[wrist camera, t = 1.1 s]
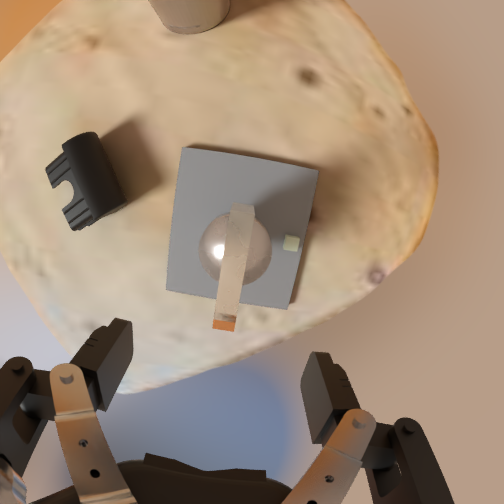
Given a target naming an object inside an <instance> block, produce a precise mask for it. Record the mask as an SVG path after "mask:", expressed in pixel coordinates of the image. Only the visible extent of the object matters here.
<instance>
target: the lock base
mask: <svg viewBox="0 0 504 504" xmlns="http://www.w3.org/2000/svg"><path fill="white" fill-rule="evenodd" d="M318 174H319V171H318V170H314V169H309V168H305V167H300V166H296V165H291V164H286V163H281V162H276V161H271V160H266V159H260V158H255V157H249V156H243V155H237V154H230V153H224V152H217V151H210V150H202V149H194V148H186V147H182V152H181V158H180V164H179V171H178V178H177V185H176V192H175V199H174V207H173V216H172V225H171V234H170V244H169V255H168V267H167V282H166V290H168V291H173V292H178V293H184V294H189V295H195V296H201V297H206V298H212V299H217V292H218V285H219V282H218V281H216V280H214V279H213V278H212V277H210V276H209V275H208V274H207V272H206V271H205V270H204V268H203V266H202V264H201V262H200V259H199V252H198V249H199V242H200V239H201V236H202V234H203V233H204V231H205V229H206V228H207V226H208V225H209V224H210V222H211V221H212V220H214V219H215V218H216V217H218V216H219V215H221V214H223V213H227V212H230V209H231V207H232V204H233V202H235V203H241V204H247V205H253V206H254V212H255V217H256V218H257V219H259V220H260V221H261V222H262V224H263V225H264V226H265V228H266V229H267V232H268V234H269V237H270V241H271V244H272V258H271V262H270V264H269V266H268V268H267V270H266V271H265V273H264V274H263V275H262V276H261V277H260V278H258V279H257V280H255V281H254V282H252V283H249V284H246V285H242V289H241V294H240V300H239V303H243V304H250V305H257V306H264V307H271V308H278V309H286V310H287V309H288V305H289V301H290V297H291V294H292V290H293V286H294V282H295V278H296V274H297V269H298V265H299V261H300V257H301V253H302V248H303V244H304V240H305V235H306V231H307V227H308V222H309V217H310V213H311V208H312V204H313V199H314V194H315V189H316V184H317V179H318Z"/></svg>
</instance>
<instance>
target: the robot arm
mask: <svg viewBox="0 0 504 504" xmlns="http://www.w3.org/2000/svg"><path fill="white" fill-rule="evenodd" d="M148 1H149V2H150V4H151V5H152V7H153V8H154V10H155V12H156V13H157V15H158V16H159V18H160V19H161V21H162V22H163V24H164V25H165V26H166V27H167V28H168V29H169V30H171V31H173V32H176V33H180V34H195V33H200V32H203V31H206V30H209V29H211V28H213V27H215V26H216V25H217V24H219V23H220V22H221V21H222V20H223V19H224V18H225V17H226V15H227V14H228V12H229V8H230V0H148ZM132 356H133V331H132V322H131V321H127V320H123V319H119V318H114V320H113V321H112V322H111V323H110V325H109V326H108V327H106V326H102V327H100V328H98V329H96V330H94V332H93V333H92V334H91V335H90V337H89V339H87V340H86V342H85V344H83V346H82V347H81V348H80V350H79V351H78V352H77V353H76V355H75V356H74V357H73V359H72V360H71V361H70V363H64V364H60V365H57V366H55V367H54V368H53V369H52V370H51V371H44V370H37V369H33V366H32V363H31V361H30V360H28V359H27V358H25V357H13V358H11V359H9V360H8V361H7V362H6V363H5V364H4V365H3V367H2V368H1V369H0V504H26V491H27V489H26V485H25V483H24V481H23V479H22V476H23V474H24V471H25V469H26V467H27V464H28V462H29V460H30V458H31V455H32V453H33V451H34V449H35V447H36V444H37V442H38V440H39V438H40V436H41V434H42V432H43V430H44V428H45V426H46V424H47V422H48V420H51V421H55V423H56V427H57V431H58V436H59V439H60V443H61V447H62V450H63V454H64V457H65V460H66V463H67V466H68V469H69V472H70V475H71V478H72V481H73V484H74V485H73V486H70V487H68V488H66V489H63V490H61V491H59V492H56V493H54V494H52V495H49V496H47V497H45V498H42V499H39V500H37V501H34V502H31V503H29V504H341V502H342V501H343V499H344V497H345V496H346V494H347V492H348V490H349V489H350V487H351V485H352V483H353V481H354V479H355V478H356V476H357V474H358V472H359V470H360V468H365V471H366V475H367V479H368V483H369V487H370V491H371V495H372V500H373V504H454V501H453V499H452V496H451V493H450V491H449V488H448V486H447V483H446V481H445V479H444V476H443V474H442V472H441V469H440V467H439V464H438V462H437V460H436V458H435V455H434V453H433V451H432V449H431V447H430V445H429V442H428V440H427V438H426V436H425V434H424V432H423V430H422V427H421V426H420V424H419V423H418V422H416V421H415V420H413V419H411V418H400V419H398V420H397V421H396V422H395V423H394V425H389V424H383V423H378V422H376V421H375V418H374V417H373V416H372V415H371V414H370V413H369V412H367V411H365V410H362V409H361V408H360V405H359V403H358V401H357V398H356V396H355V393H354V391H353V388H352V387H351V384H350V381H348V377H347V375H346V372H345V371H344V370H343V369H342V367H341V366H340V365H339V364H333V361H332V359H331V356H330V354H329V353H325V352H312V353H311V354H310V356H309V359H308V362H307V364H306V367H305V370H304V372H303V375H302V378H301V393H302V397H303V402H304V406H305V411H306V416H307V420H308V425H309V429H310V434H311V439H312V443H313V444H322V447H323V449H322V450H321V451H320V453H319V454H318V456H317V457H316V459H315V460H314V461H313V463H312V464H311V466H310V467H309V468H308V470H307V471H306V472H305V474H304V475H303V476H302V478H301V479H300V480H299V481H298V483H297V484H296V485H295V486H294V488H293V489H291V488H290V487H288V486H286V485H284V484H283V483H281V482H278V481H276V480H273V479H270V478H266V470H249V469H228V470H217V471H203V470H200V469H197V468H195V467H192V466H189V465H187V464H184V463H182V462H179V461H177V460H175V459H169V458H165V457H161V456H156V455H152V454H149V453H146V454H145V458H144V460H129V461H123V462H120V463H117V464H116V462H115V460H114V457H113V456H112V453H111V451H110V448H109V446H108V444H107V441H106V439H105V437H104V434H103V431H102V429H101V426H100V424H99V421H98V418H97V416H96V411H97V409H99V410H102V411H105V412H106V410H107V409H108V406H109V404H110V402H111V400H112V398H113V396H114V394H115V392H116V390H117V388H118V386H119V384H120V382H121V380H122V378H123V376H124V374H125V372H126V370H127V368H128V366H129V364H130V362H131V360H132ZM397 463H398V464H397ZM398 466H399V467H398ZM399 468H400V470H399ZM400 471H401V473H400ZM401 475H402V476H401Z"/></svg>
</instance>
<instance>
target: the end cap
mask: <svg viewBox="0 0 504 504" xmlns="http://www.w3.org/2000/svg"><path fill="white" fill-rule="evenodd" d="M62 148H63V150H64V152H63V153H62V154H60V155H59V156H58V157H57V158H56V159H55V160H54V161H53V162H51V163H50V164H49V165H48V166H47V167H46V173H47V176H48V178H49V181H50V183H51V186H52V188H55V187H57V186H58V185H59V184H60V183H61V182H62V181H64V180H67V181H69V182H70V183H71V184H72V186H73V189H74V196H73V199H72V201H71V202H70V203H69V204H68V205H67V206H65V207H64V208H63V209H62V211H63V213H64V215H65V217H66V219H67V222H68V224H69V226H70V228H71V229H72V230H73V231H76V230H81V229H83V228H84V227H86V226H90V225H92V224H93V223H95V222H96V221H98V220H99V219H100V218H102V217H105V216H107V215H109V214H112V213H114V212H117V211H118V210H120V209H121V208H123V207H124V206H125V205H126V204H127V203H128V200H127V198H126V196H125V194H124V192H123V190H122V188H121V186H120V184H119V182H118V180H117V178H116V176H115V173H114V171H113V169H112V167H111V165H110V163H109V160H108V158H107V156H106V154H105V151H104V149H103V147H102V145H101V142H100V140H99V138H98V135H97V134H96V133H95V132H86V133H82V134H79V135H77V136H75V137H73V138H71V139H69V140H68V141H66V142H65V143H64V144H62Z"/></svg>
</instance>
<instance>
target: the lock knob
mask: <svg viewBox="0 0 504 504" xmlns="http://www.w3.org/2000/svg"><path fill="white" fill-rule="evenodd" d="M198 252H199V259H200V262H201V264H202V266H203V268H204V270H205V271H206V272H207V274H208V275H209V276H210V277H212V278H213V279H214V280H216V281H218V282H219V285H218V292H217V299H216V306H215V313H214V321H213V328H214V329H220V330H226V331H233V332H234V327H235V322H236V316H237V311H238V305H239V300H240V294H241V289H242V285H246V284H249V283H252V282H254V281H255V280H257V279H258V278H260V277H261V276H262V275H263V274H264V273H265V271H266V270H267V268H268V266H269V264H270V262H271V258H272V244H271V241H270V237H269V234H268V232H267V229H266V228H265V226H264V225H263V224H262V222H261V221H260V220H259V219H257V218H256V217H255V212H254V206H253V205H247V204H241V203H235V202H233V204H232V207H231V209H230V212H227V213H223V214H221V215H219V216H218V217H216V218H215V219H214V220H212V221H211V222H210V224H209V225H208V226H207V228H206V229H205V231H204V233H203V234H202V236H201V239H200V242H199V249H198Z"/></svg>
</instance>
